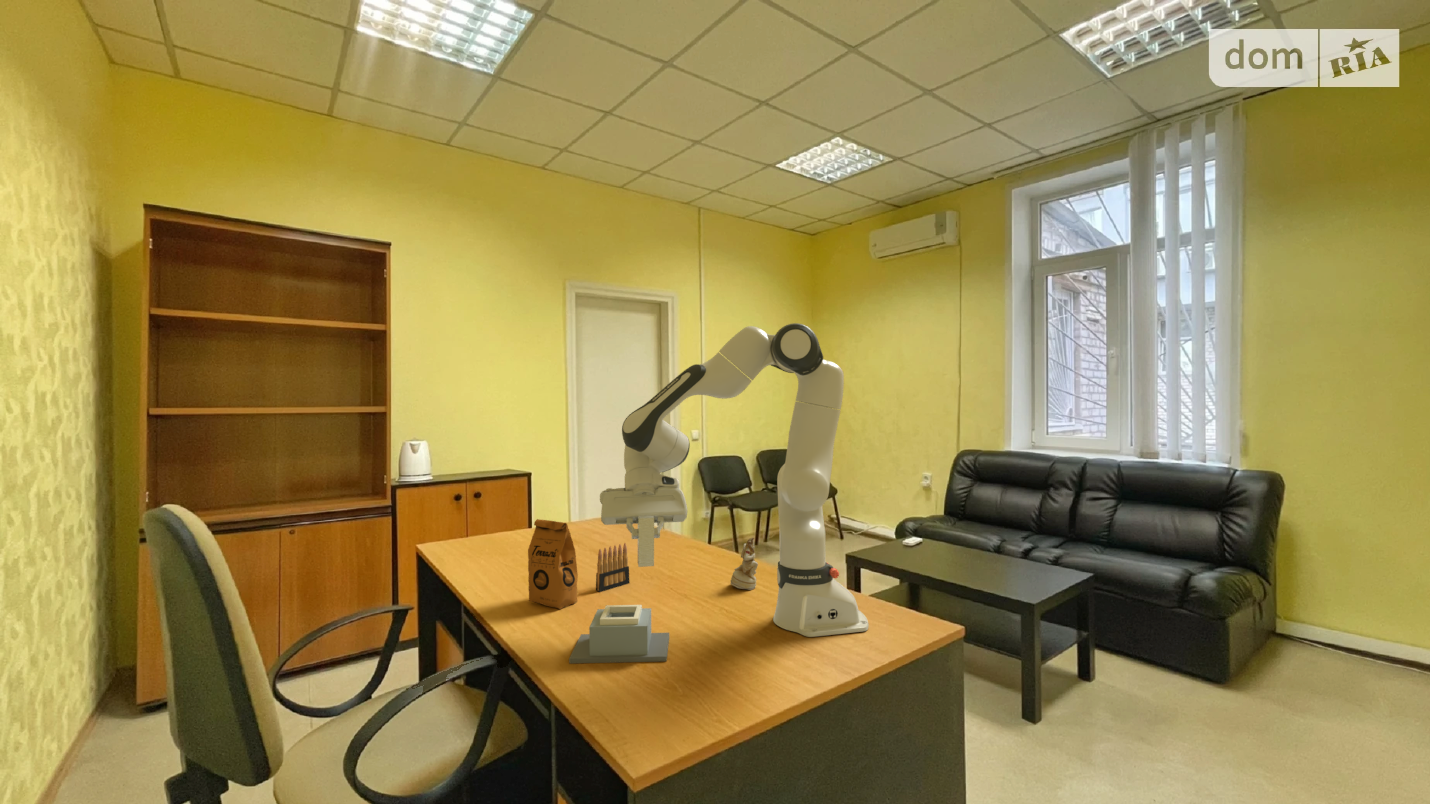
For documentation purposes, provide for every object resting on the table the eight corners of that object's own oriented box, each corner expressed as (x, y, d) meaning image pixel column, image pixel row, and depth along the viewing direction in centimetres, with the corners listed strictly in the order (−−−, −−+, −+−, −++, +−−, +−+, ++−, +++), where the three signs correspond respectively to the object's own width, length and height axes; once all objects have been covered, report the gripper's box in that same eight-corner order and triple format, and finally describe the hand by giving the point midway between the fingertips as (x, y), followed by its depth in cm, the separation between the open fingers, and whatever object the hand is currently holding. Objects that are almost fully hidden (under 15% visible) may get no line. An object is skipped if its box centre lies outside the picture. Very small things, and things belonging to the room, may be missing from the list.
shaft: (652, 561, 132) (652, 514, 132) (654, 566, 129) (654, 517, 129) (637, 562, 132) (637, 515, 132) (638, 566, 128) (638, 518, 128)
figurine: (758, 595, 162) (773, 545, 162) (736, 592, 159) (751, 541, 159) (746, 584, 168) (761, 536, 168) (725, 581, 165) (740, 532, 165)
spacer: (641, 610, 127) (641, 604, 127) (638, 624, 119) (638, 618, 119) (606, 610, 127) (605, 605, 127) (599, 625, 119) (599, 619, 119)
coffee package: (556, 613, 144) (555, 526, 144) (523, 604, 151) (522, 521, 151) (584, 601, 153) (583, 519, 153) (551, 593, 159) (551, 515, 159)
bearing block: (669, 636, 129) (669, 606, 129) (666, 661, 117) (666, 627, 117) (581, 638, 129) (580, 607, 129) (569, 663, 117) (568, 629, 117)
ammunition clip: (599, 592, 160) (599, 549, 160) (595, 590, 161) (595, 548, 161) (629, 583, 167) (629, 542, 167) (625, 581, 169) (625, 541, 169)
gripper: (599, 481, 135) (599, 531, 125) (684, 479, 139) (690, 527, 129) (599, 496, 139) (599, 546, 130) (682, 494, 143) (688, 542, 134)
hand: (645, 537), depth 130 cm, fingers closed on shaft, 3 cm apart
